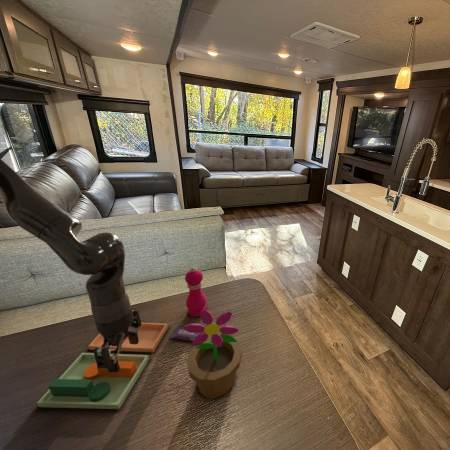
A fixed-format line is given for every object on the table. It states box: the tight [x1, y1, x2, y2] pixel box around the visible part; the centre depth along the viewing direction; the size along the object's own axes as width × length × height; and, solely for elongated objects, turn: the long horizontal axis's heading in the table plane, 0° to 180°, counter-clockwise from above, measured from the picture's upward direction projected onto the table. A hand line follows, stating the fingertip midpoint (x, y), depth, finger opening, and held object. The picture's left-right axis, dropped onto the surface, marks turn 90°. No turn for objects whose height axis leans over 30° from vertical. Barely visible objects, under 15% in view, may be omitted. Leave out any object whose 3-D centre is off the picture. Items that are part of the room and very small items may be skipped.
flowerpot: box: [183, 308, 243, 399], centre depth 66 cm, size 14×14×30 cm
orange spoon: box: [84, 361, 137, 380], centre depth 69 cm, size 13×4×4 cm, turn 92°
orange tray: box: [87, 322, 169, 353], centre depth 81 cm, size 19×10×2 cm, turn 92°
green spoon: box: [48, 378, 110, 402], centre depth 64 cm, size 13×4×4 cm, turn 92°
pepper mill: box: [184, 266, 207, 318], centre depth 92 cm, size 7×7×20 cm
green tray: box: [36, 352, 150, 410], centre depth 68 cm, size 19×14×2 cm
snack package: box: [170, 326, 205, 342], centre depth 84 cm, size 12×2×5 cm
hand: (125, 356), depth 68 cm, fingers open, 8 cm apart
